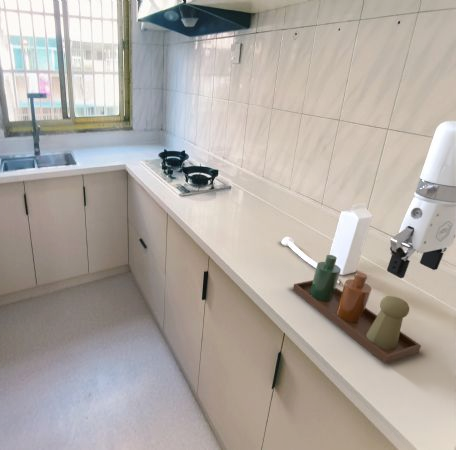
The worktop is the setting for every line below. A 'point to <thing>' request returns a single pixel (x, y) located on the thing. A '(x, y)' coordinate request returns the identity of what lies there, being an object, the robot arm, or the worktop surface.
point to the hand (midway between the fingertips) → (411, 270)
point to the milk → (351, 237)
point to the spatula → (299, 252)
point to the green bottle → (325, 279)
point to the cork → (388, 323)
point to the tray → (358, 326)
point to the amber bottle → (354, 299)
